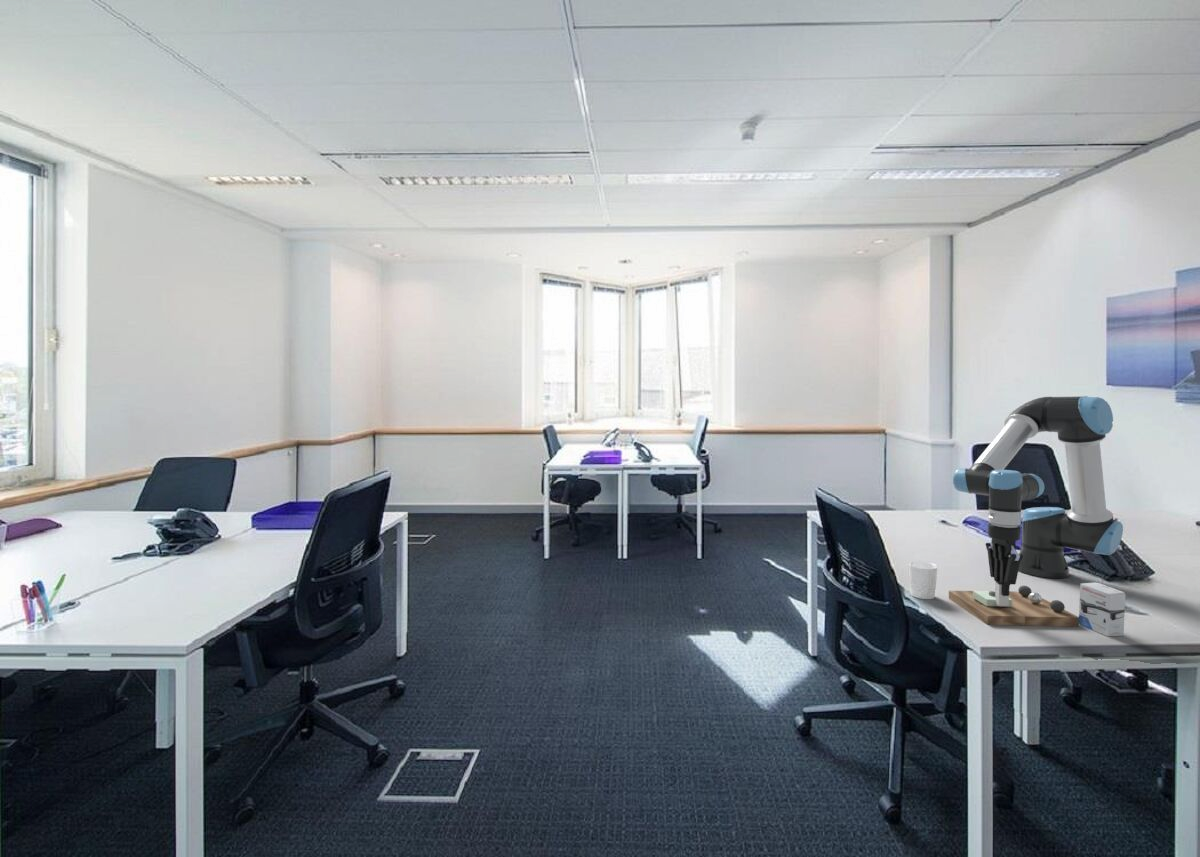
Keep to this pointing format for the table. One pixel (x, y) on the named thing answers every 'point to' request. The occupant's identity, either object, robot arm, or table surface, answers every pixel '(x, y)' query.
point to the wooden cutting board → (1014, 611)
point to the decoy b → (1057, 606)
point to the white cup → (922, 579)
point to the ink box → (1102, 609)
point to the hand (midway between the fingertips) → (1001, 605)
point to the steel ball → (1035, 598)
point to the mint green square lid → (987, 598)
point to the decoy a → (1024, 590)
